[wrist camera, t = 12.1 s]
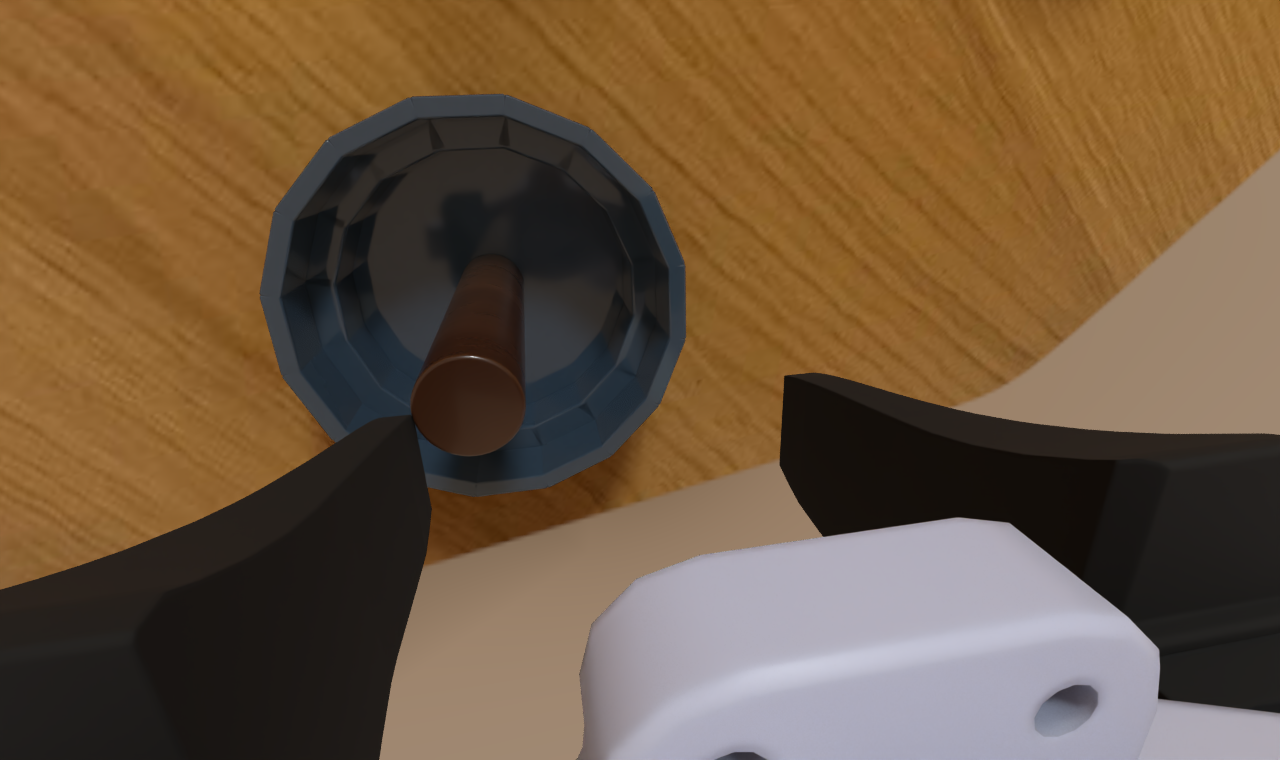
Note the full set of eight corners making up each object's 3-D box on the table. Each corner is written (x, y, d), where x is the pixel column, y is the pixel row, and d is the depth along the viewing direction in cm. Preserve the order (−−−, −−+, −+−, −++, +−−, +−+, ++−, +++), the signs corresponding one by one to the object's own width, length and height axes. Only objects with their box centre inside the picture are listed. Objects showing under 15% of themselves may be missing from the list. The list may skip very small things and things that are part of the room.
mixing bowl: (658, 412, 23) (687, 471, 19) (358, 445, 22) (320, 517, 18) (650, 98, 19) (684, 88, 15) (278, 110, 18) (203, 102, 14)
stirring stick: (526, 311, 20) (531, 451, 11) (465, 316, 20) (420, 464, 11) (520, 251, 20) (519, 350, 11) (456, 256, 19) (399, 361, 10)
